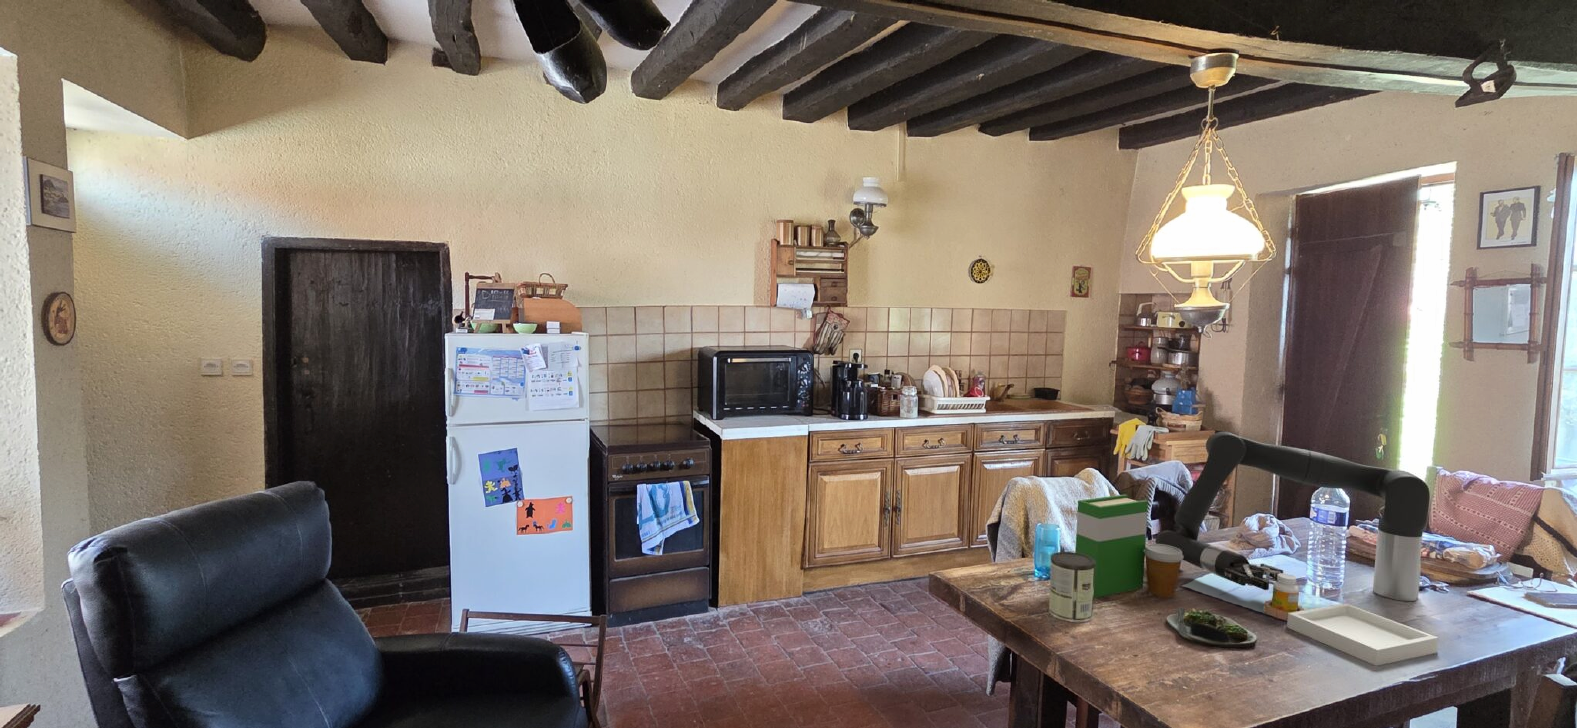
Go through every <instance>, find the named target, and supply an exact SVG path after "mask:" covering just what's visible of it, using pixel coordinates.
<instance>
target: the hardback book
mask: <svg viewBox="0 0 1577 728" xmlns="http://www.w3.org/2000/svg"><path fill="white" fill-rule="evenodd" d="M1148 504H1149V500H1146V499H1143V500H1135V499H1131V498H1129V495H1128V494H1117V495H1110V496H1103V497H1095V498H1094V497H1093V498H1090V499H1089V498H1088V499H1079V500H1077V513H1076V535H1075V552H1074V553H1080V554H1084V555H1087V556H1089V557H1091V558H1093V559H1094V560H1095V562H1096V563H1095V570H1094V592H1093V598H1095V599H1096V597H1098V598H1101V597H1100V596H1102V597H1106V595H1107V596H1112V595H1115V593H1117V594H1120V593H1126V592H1129V591H1130V590H1131V591H1135V590H1140V589H1143V588H1144V578H1145V577H1144V576H1145V575H1144V574H1145V563H1146V557H1145V553H1144V549H1145V548H1146V545H1147V543H1146V542H1147V528H1148V525H1147V524H1148V523H1147V522H1148V508H1149V505H1148ZM1125 591H1126V592H1125ZM1111 594H1112V595H1111Z"/></svg>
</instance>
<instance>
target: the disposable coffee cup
mask: <svg viewBox="0 0 1577 728" xmlns="http://www.w3.org/2000/svg"><path fill="white" fill-rule="evenodd" d="M1144 553H1145V566H1146V567H1145V568H1146V582H1147V591H1148V593H1150V594H1151V595H1154V596H1156V597H1160V598H1172V597H1175V593H1176V589H1177V584H1178V578H1179V575H1180V574H1179V573H1180V570H1181V569H1180V568H1181V564H1182V561H1183V560H1182V559H1183V557H1184V556H1183V555H1182V551H1181V550H1180V549H1178V548H1176V547H1173V546H1169V545H1164V544H1156V543H1149V544H1146V545H1145V549H1144Z"/></svg>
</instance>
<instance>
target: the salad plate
mask: <svg viewBox="0 0 1577 728" xmlns="http://www.w3.org/2000/svg"><path fill="white" fill-rule="evenodd" d="M1166 621H1167V623H1168V624H1169V626H1171V627H1172V628H1173V629H1174V630H1175V631H1176V632H1178V633H1179V636H1181V637H1183V638H1184V639H1186V640H1187V641H1188V642H1191V643H1193V644H1196V645H1200V646H1203V647H1206V648H1213V649H1226V650H1227V649H1228V650H1229V649H1231V650H1233V649H1234V650H1235V649H1236V650H1241V649H1242V650H1243V649H1249V648H1252V647H1254V646H1255V644H1257V642H1258V636H1257V635H1256V634H1255V633H1253V632H1252V631H1250V630H1248V629H1246V628H1245V627H1243V626H1242V625H1241V624H1240V623H1238V622H1236V621H1235V620H1233V619H1231V618H1229V617H1226V616H1222V615H1219V614H1213V613H1211V612H1210V611H1209V610H1206V609H1205V610H1195V608H1191V610H1190V611H1189V612H1187V611H1186V608H1184V607H1178V608H1177V613H1173V614H1169V615H1168V616H1166Z"/></svg>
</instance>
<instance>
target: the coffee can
mask: <svg viewBox="0 0 1577 728" xmlns="http://www.w3.org/2000/svg"><path fill="white" fill-rule="evenodd" d="M1095 563H1096V562H1095V560H1094V559H1093V558H1091V557H1089V556H1087V555H1084V554H1080V553H1075V552H1073V551H1072V552H1071V551H1061V552H1060V551H1059V552H1054V553H1052V554H1050V576H1049V578H1050V579H1049V581H1050V582H1049V602H1048V603H1049V606H1048V613H1049V614H1050V615H1051V616H1052V617H1054V618H1056V619H1059V620H1061V621H1064V620H1065V621H1064V622H1068V621H1069V622H1068V623H1076V624H1077V623H1087V622H1090V621H1091V620H1092V619H1093V617H1094V616H1093V613H1094V612H1093V611H1094V610H1093V609H1094V597H1093V592H1094V570H1095Z"/></svg>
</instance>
